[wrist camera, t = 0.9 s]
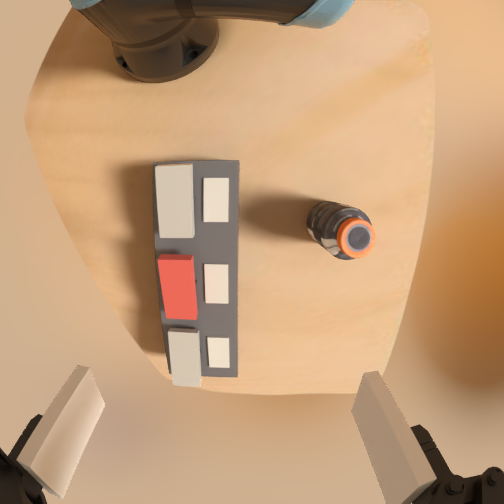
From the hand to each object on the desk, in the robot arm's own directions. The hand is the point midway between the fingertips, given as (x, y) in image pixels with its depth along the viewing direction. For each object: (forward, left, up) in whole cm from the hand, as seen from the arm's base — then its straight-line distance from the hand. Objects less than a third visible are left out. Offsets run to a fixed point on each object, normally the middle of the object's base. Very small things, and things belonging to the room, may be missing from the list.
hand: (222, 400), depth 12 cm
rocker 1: (-7, -7, -21) cm, 23 cm away
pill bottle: (-4, +12, -28) cm, 31 cm away
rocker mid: (+3, -7, -21) cm, 22 cm away
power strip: (+3, -5, -28) cm, 28 cm away
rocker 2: (+13, -7, -21) cm, 25 cm away
